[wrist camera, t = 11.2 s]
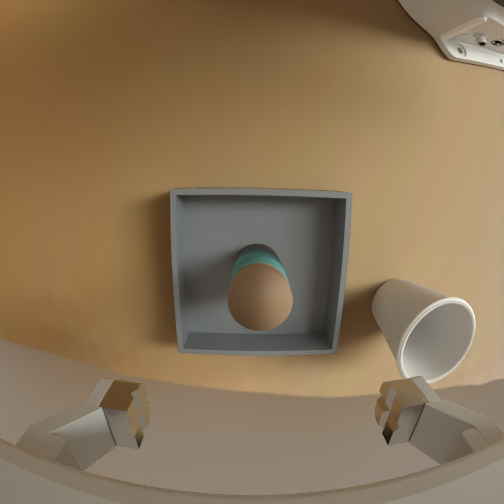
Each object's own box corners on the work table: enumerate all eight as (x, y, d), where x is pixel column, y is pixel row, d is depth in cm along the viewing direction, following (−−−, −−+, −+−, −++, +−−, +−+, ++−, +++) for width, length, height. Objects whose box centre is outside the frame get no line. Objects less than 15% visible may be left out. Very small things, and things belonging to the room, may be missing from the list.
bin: (339, 191, 29) (352, 192, 25) (327, 334, 32) (336, 353, 28) (180, 187, 29) (169, 189, 25) (186, 333, 32) (178, 352, 28)
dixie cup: (414, 336, 33) (456, 381, 23) (352, 335, 32) (385, 388, 22) (433, 269, 31) (487, 300, 21) (369, 261, 30) (415, 295, 21)
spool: (281, 242, 29) (294, 269, 21) (280, 288, 30) (292, 330, 22) (232, 243, 29) (226, 270, 21) (233, 288, 30) (228, 331, 22)
